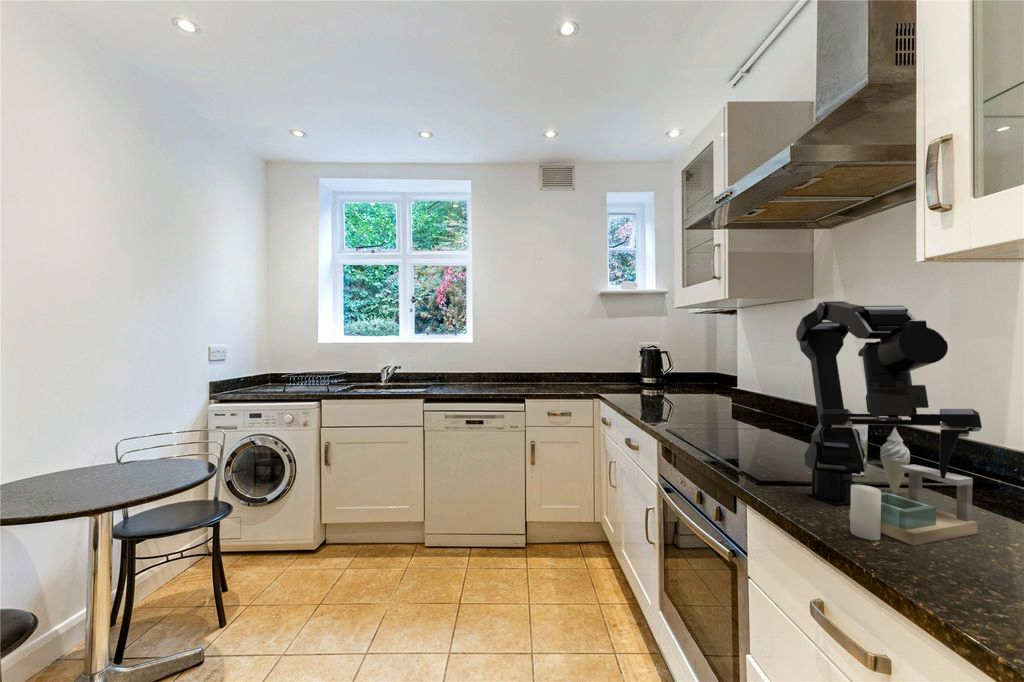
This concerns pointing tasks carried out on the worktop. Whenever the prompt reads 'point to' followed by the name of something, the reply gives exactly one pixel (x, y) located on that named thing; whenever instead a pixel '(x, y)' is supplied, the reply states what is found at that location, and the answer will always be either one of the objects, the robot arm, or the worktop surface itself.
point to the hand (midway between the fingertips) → (901, 475)
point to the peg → (865, 512)
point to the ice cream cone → (894, 459)
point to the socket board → (926, 510)
